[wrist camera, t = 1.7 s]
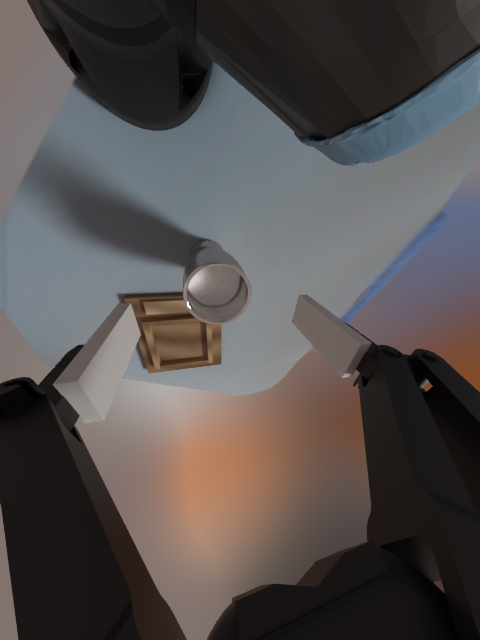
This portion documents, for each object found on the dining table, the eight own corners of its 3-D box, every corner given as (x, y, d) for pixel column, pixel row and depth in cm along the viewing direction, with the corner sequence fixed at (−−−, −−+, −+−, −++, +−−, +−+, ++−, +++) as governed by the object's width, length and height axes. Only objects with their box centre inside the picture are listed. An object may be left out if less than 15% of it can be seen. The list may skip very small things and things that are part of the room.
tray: (125, 295, 29) (120, 302, 27) (220, 292, 32) (221, 297, 30) (149, 369, 38) (147, 377, 36) (220, 360, 42) (221, 367, 40)
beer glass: (184, 275, 29) (177, 322, 17) (189, 231, 26) (185, 250, 14) (223, 283, 31) (242, 329, 19) (232, 243, 28) (262, 268, 16)
